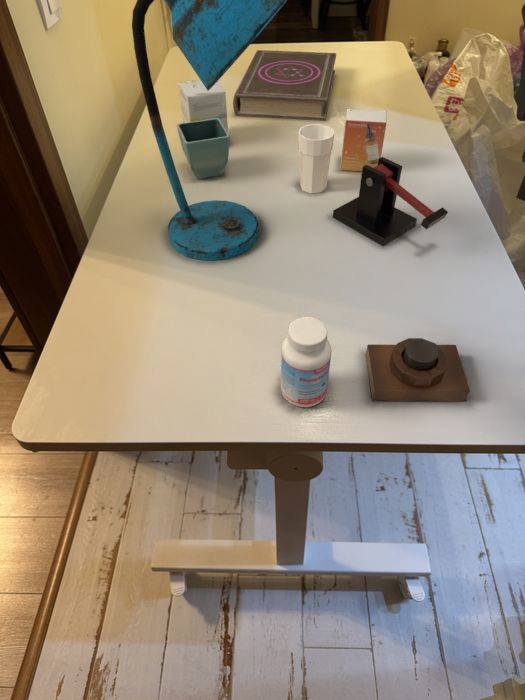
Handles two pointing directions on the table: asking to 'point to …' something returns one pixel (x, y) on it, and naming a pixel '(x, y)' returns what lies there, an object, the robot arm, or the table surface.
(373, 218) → the black lever stand
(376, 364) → the block
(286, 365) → the pill bottle
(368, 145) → the small box
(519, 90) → the robot arm
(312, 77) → the book
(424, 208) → the red lever
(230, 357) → the table surface
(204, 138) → the flower pot
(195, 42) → the desk lamp
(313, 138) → the cup
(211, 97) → the ink box
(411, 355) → the bell button
